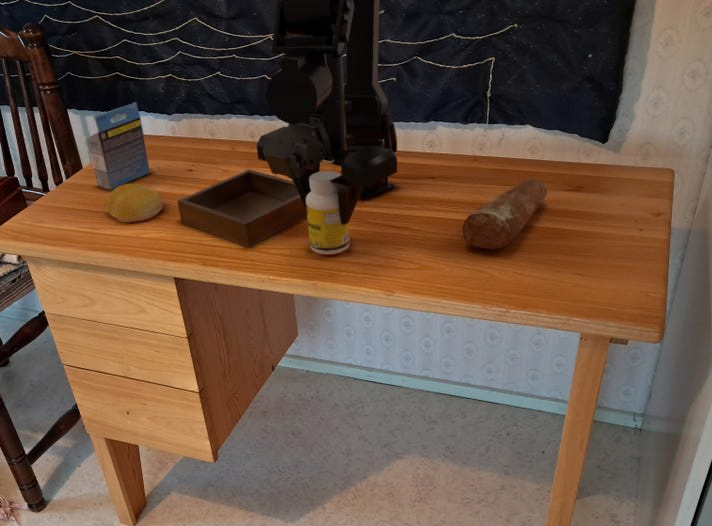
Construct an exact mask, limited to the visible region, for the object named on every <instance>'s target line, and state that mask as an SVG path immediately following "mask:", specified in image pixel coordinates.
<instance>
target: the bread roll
mask: <svg viewBox="0 0 712 526" xmlns="http://www.w3.org/2000/svg"><path fill="white" fill-rule="evenodd" d="M163 207H164V201H163V198H162V196H161V194H160V193H158V191H155V190H151V189H149V188H148V187H147V186H145V185H142V184H139V183H126V184H124V185H121V186H119V187H117V188H115V189H113V190H111V191H110V193H109V194H108V196H107V197H106V199H105V202H104V208H105V210H106V212H107V213H108V214H109V215H110V216H111V217H113V218H116V220H117V221H119V222H121V223H136V222H142V221H145V220H149V219H152V218H153V217H155V216H156V215H158V214H159V213H160V212H161V210H162V209H163Z"/></svg>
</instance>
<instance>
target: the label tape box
mask: <svg viewBox="0 0 712 526" xmlns="http://www.w3.org/2000/svg"><path fill="white" fill-rule="evenodd" d="M117 115H118V116H119V117H120V116H124V118H121V119H118V120H115V121H112V119H115V118H116V116H117ZM93 119H94V122H95V125H96V128H97V132H96V133H93V134H92V135H91V136H89V137H87V138H86V142H87V145H88V146H87V147H88V150H89V155H90V158H91V159H90V160H91V163H92V167H93V171H94V176H95V180H96V184H97V186H98V187H100V188H103V189H105V190H109V191H113V190H114V189H115V188H117V187H119V186H121V185H125V184H129V183H131V182H133V181H134V180H137V179H139V178H142V177H144V176H145V175H148V174H150V173H151V169H150V165H149V158H148V153H147V148H146V142H145V136H144V131H143V125H142V120H141V116H140V111H139V108H138V104H137V101H135V102H133V103H130V104H127V105H124V106H121V107H118V108H115V109H112V110H110V111H106V112H103V113H101V114H97V115H94V116H93Z"/></svg>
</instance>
